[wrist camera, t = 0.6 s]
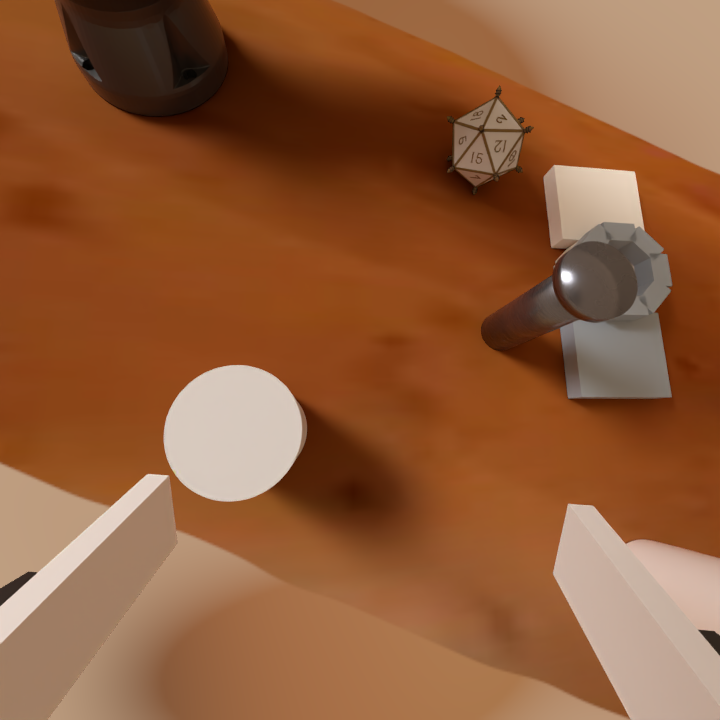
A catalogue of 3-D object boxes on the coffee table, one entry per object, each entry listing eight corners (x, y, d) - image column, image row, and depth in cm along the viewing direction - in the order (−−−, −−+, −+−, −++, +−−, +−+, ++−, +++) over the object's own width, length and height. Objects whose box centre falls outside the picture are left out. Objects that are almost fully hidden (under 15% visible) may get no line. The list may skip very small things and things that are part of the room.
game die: (449, 178, 46) (468, 78, 39) (519, 191, 43) (552, 85, 36) (424, 199, 40) (442, 84, 33) (503, 215, 37) (540, 94, 30)
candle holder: (608, 516, 36) (749, 559, 24) (697, 547, 37) (876, 604, 25) (590, 623, 34) (733, 725, 22) (684, 654, 35) (872, 770, 23)
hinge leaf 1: (543, 177, 43) (554, 165, 41) (620, 183, 44) (634, 171, 42) (559, 324, 39) (572, 319, 37) (643, 326, 41) (659, 321, 39)
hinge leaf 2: (550, 239, 41) (574, 220, 37) (630, 244, 42) (662, 225, 38) (568, 398, 38) (596, 395, 34) (654, 398, 39) (691, 395, 35)
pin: (472, 306, 39) (557, 239, 25) (521, 307, 39) (631, 243, 26) (475, 357, 38) (566, 317, 24) (526, 358, 38) (643, 319, 25)
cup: (225, 382, 34) (178, 358, 22) (312, 391, 35) (309, 372, 23) (210, 471, 33) (151, 495, 21) (301, 478, 33) (292, 506, 22)
